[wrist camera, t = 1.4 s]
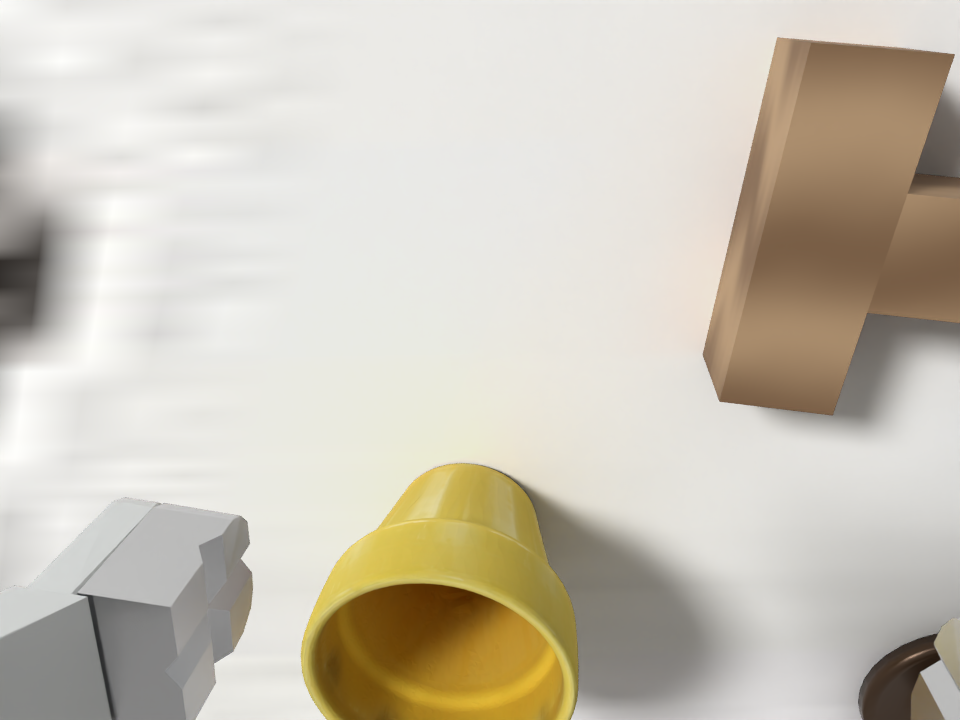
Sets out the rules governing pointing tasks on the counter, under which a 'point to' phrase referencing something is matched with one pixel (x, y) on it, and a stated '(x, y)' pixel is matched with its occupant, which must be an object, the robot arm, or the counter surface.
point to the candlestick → (896, 680)
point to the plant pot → (446, 612)
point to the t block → (833, 222)
